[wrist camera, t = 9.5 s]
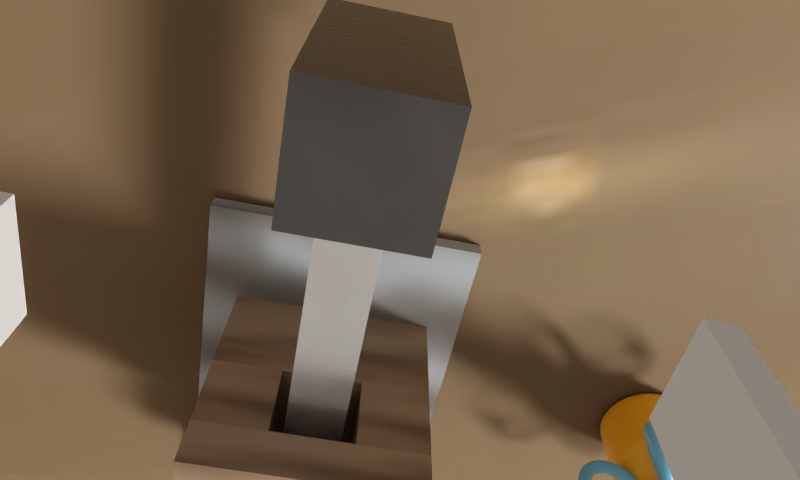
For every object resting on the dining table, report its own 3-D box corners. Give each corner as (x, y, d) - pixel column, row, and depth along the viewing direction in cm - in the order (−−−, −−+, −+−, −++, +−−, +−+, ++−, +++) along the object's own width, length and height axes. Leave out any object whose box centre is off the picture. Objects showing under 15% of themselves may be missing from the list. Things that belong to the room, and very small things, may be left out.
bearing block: (214, 197, 39) (128, 353, 27) (480, 245, 41) (509, 413, 29) (196, 472, 51) (130, 666, 39) (401, 502, 53) (399, 697, 41)
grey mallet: (328, -3, 27) (289, 71, 18) (452, 23, 27) (471, 106, 18) (265, 450, 40) (225, 619, 31) (349, 462, 40) (332, 632, 31)
